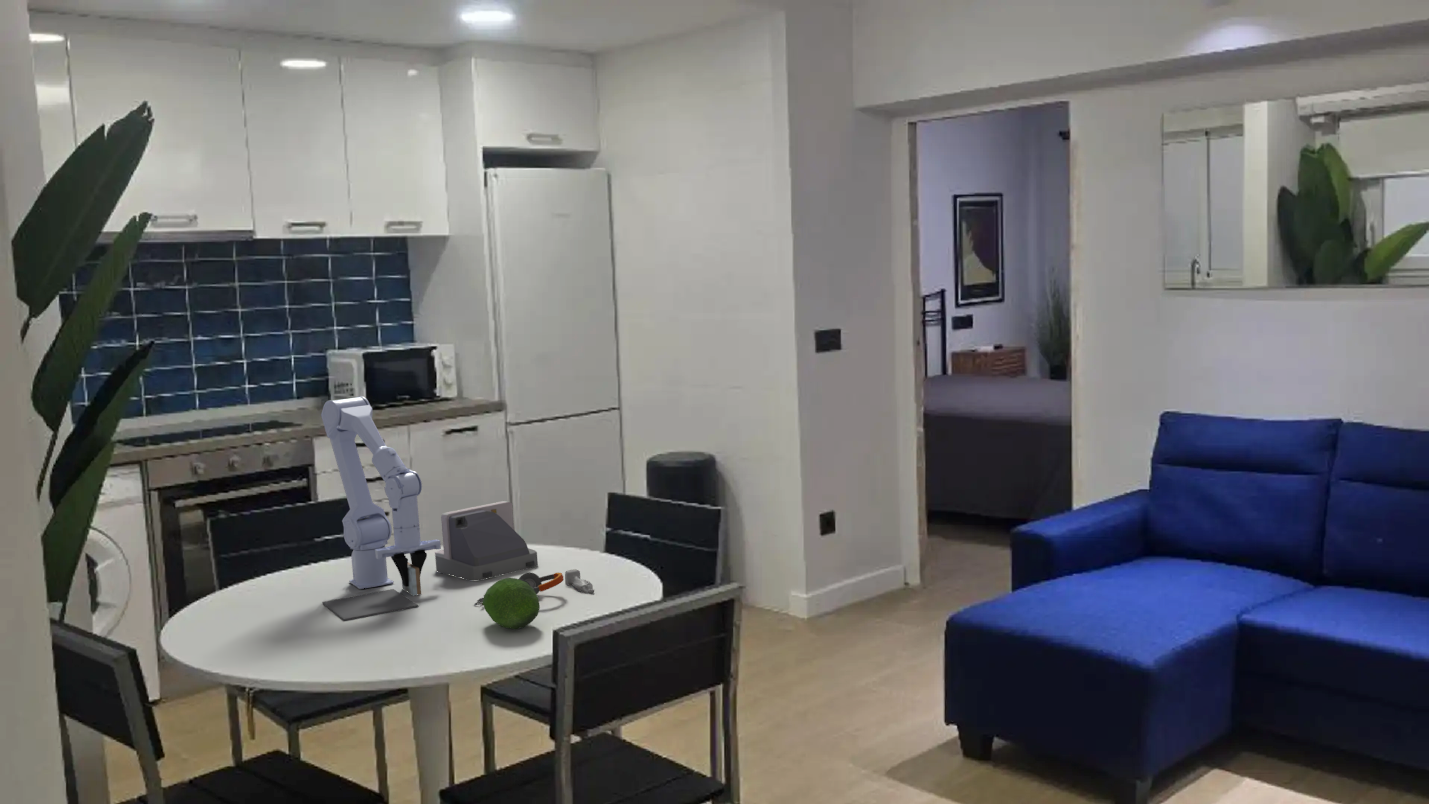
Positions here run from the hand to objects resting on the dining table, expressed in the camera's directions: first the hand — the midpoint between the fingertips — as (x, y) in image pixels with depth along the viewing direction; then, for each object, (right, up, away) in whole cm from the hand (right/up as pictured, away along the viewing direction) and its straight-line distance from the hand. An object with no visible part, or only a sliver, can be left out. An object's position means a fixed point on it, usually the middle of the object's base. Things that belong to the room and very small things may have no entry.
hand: (411, 584), depth 281 cm
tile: (0, -2, 0) cm, 2 cm away
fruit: (+28, -4, -32) cm, 43 cm away
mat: (-7, -3, -10) cm, 12 cm away
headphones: (+27, -2, -11) cm, 29 cm away
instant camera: (+14, +1, +19) cm, 24 cm away
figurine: (+39, -1, -5) cm, 40 cm away
